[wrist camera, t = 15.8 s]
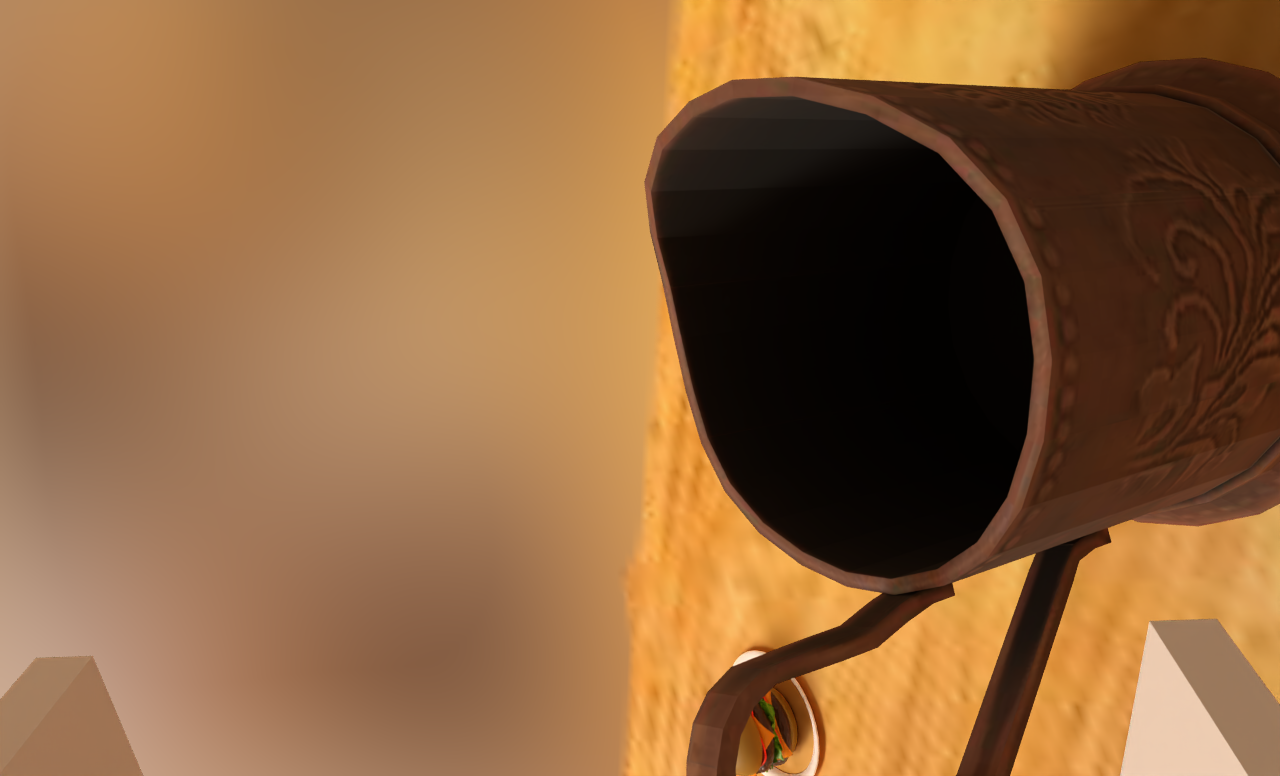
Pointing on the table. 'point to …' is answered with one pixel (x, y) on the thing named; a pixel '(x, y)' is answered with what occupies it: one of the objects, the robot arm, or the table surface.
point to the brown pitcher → (971, 337)
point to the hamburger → (772, 733)
